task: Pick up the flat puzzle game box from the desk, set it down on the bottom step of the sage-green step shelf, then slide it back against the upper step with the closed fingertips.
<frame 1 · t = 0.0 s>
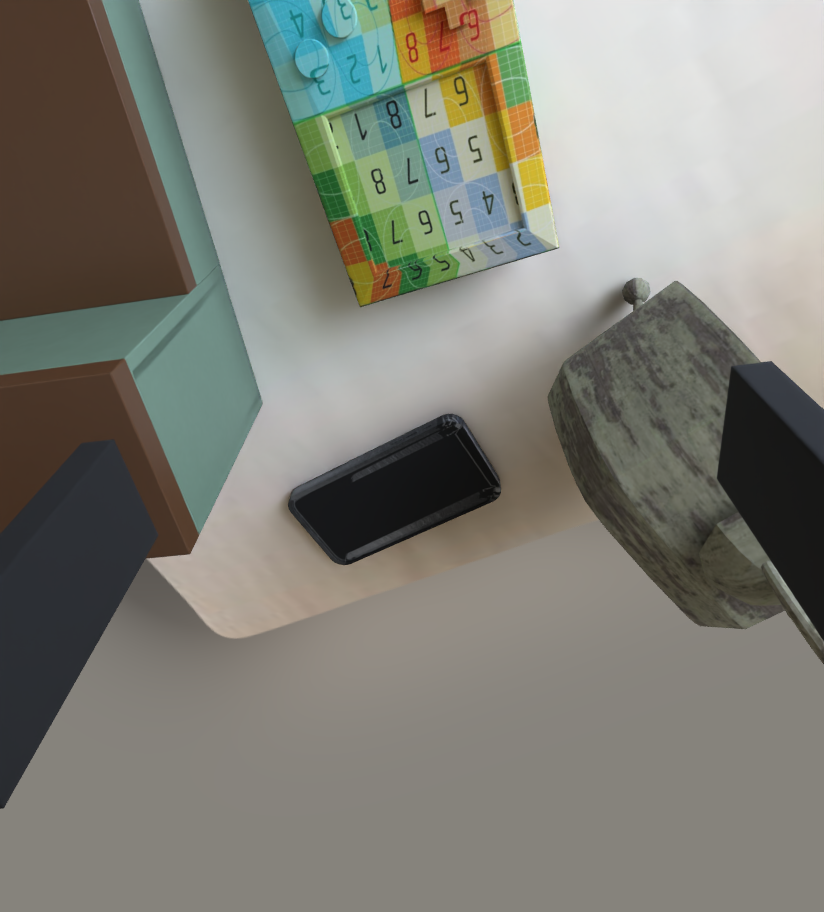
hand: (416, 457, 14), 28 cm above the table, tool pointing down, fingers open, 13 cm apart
puzzle game: (406, 81, 34), on the table
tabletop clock: (638, 370, 43), on the table
step shelf: (59, 161, 37), on the table
phone: (393, 488, 49), on the table
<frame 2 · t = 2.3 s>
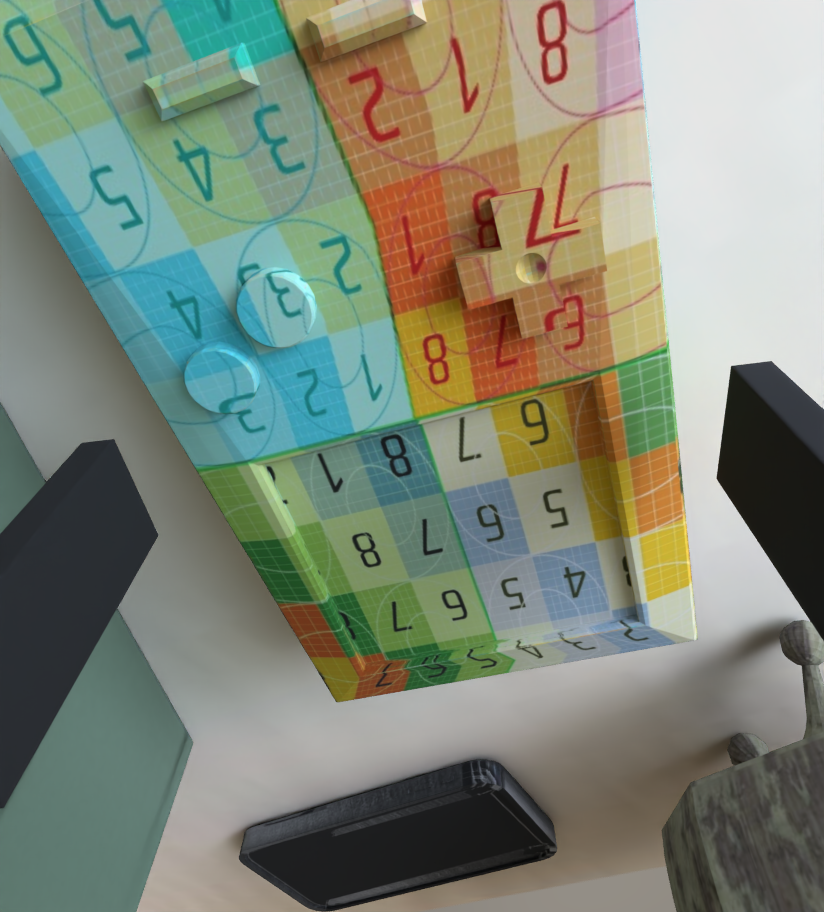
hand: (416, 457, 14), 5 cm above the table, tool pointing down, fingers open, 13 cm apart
puzzle game: (418, 342, 18), on the table
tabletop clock: (781, 714, 27), on the table
phone: (395, 827, 33), on the table
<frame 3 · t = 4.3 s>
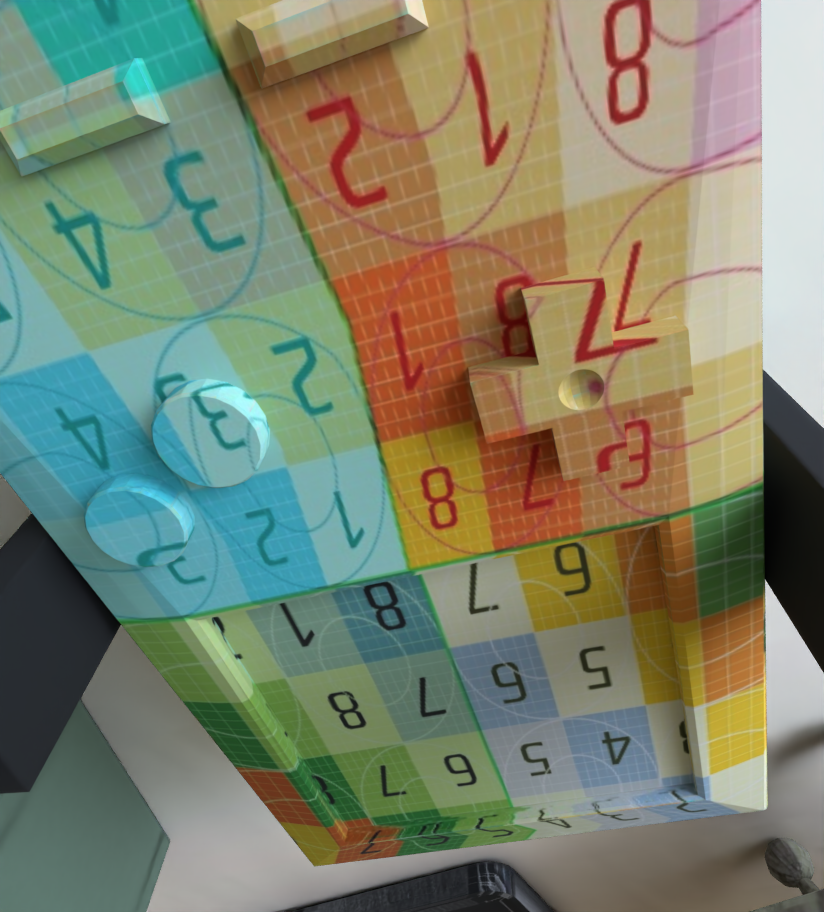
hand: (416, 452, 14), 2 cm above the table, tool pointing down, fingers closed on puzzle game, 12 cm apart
puzzle game: (415, 435, 14), point 1 cm above the table, touching gripper
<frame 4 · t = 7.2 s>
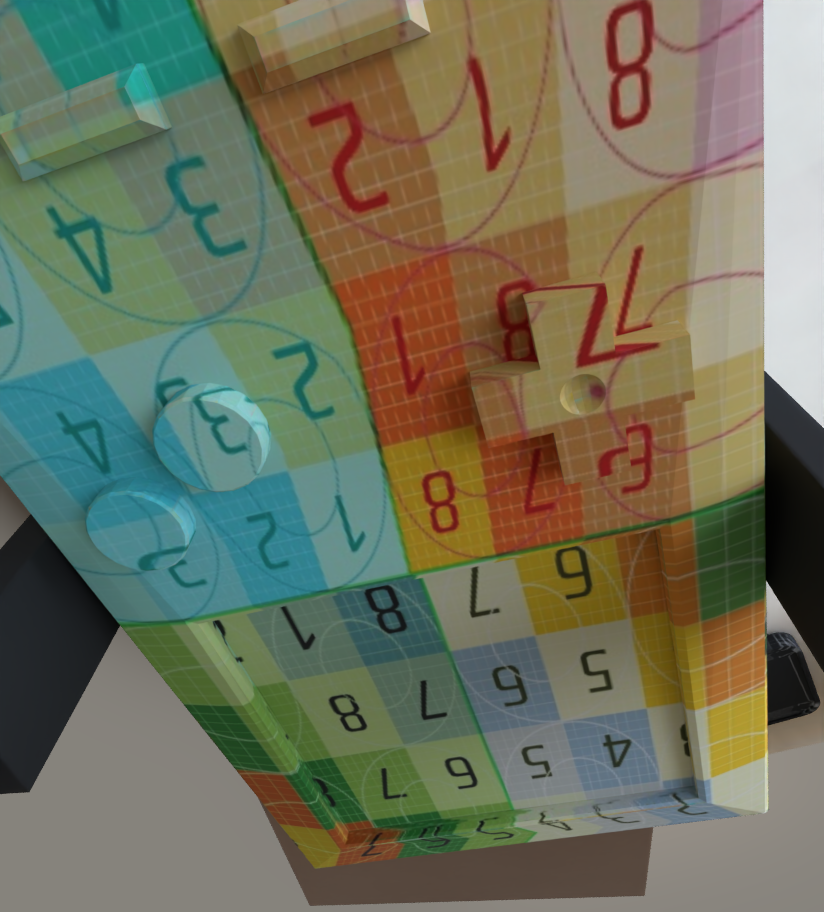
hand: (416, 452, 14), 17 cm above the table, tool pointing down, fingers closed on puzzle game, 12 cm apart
puzzle game: (416, 437, 14), point 17 cm above the table, touching gripper
step shelf: (429, 399, 33), on the table
phone: (690, 693, 45), on the table
when the fingers open (6 cm above the table, at t = 10.0 s): puzzle game stays where it is, resting on step shelf.
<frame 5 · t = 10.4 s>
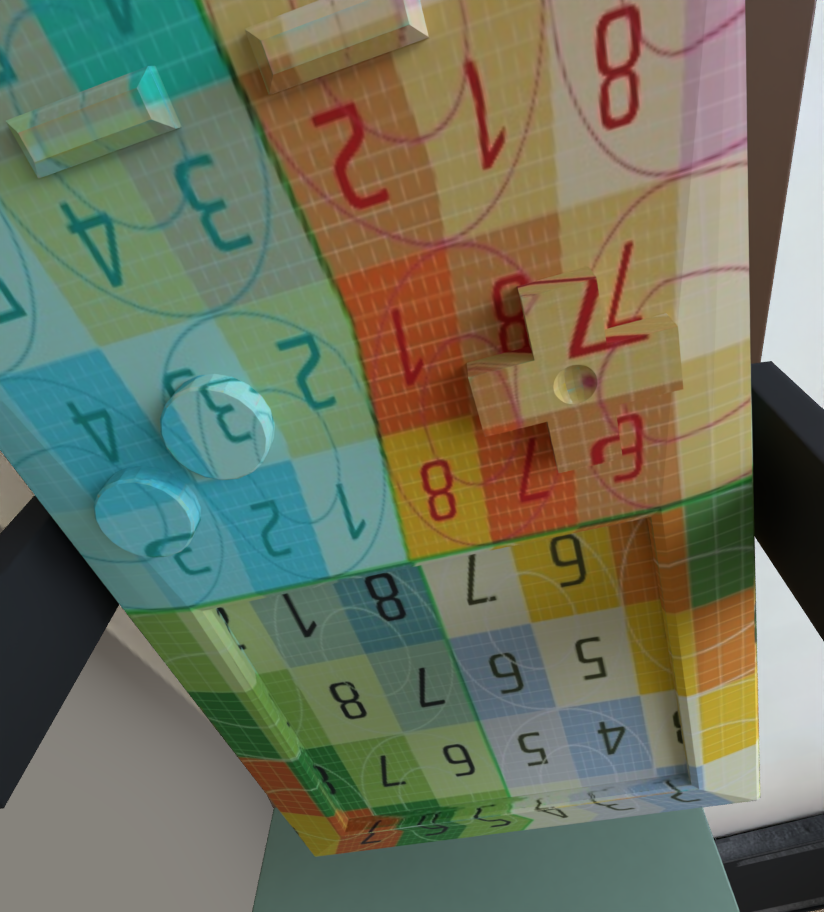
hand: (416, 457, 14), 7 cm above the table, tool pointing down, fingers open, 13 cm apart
puzzle game: (415, 431, 15), point 6 cm above the table, touching step shelf
step shelf: (450, 537, 24), on the table
phone: (775, 857, 36), on the table
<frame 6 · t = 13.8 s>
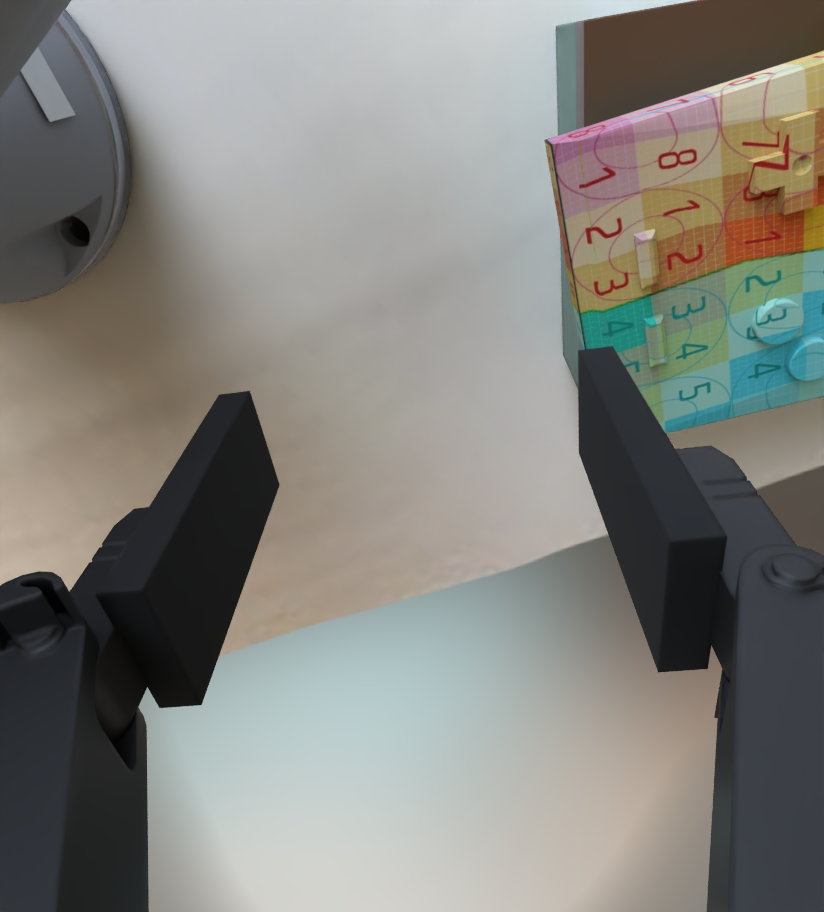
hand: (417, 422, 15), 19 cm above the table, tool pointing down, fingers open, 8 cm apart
puzzle game: (816, 210, 25), point 6 cm above the table, touching step shelf
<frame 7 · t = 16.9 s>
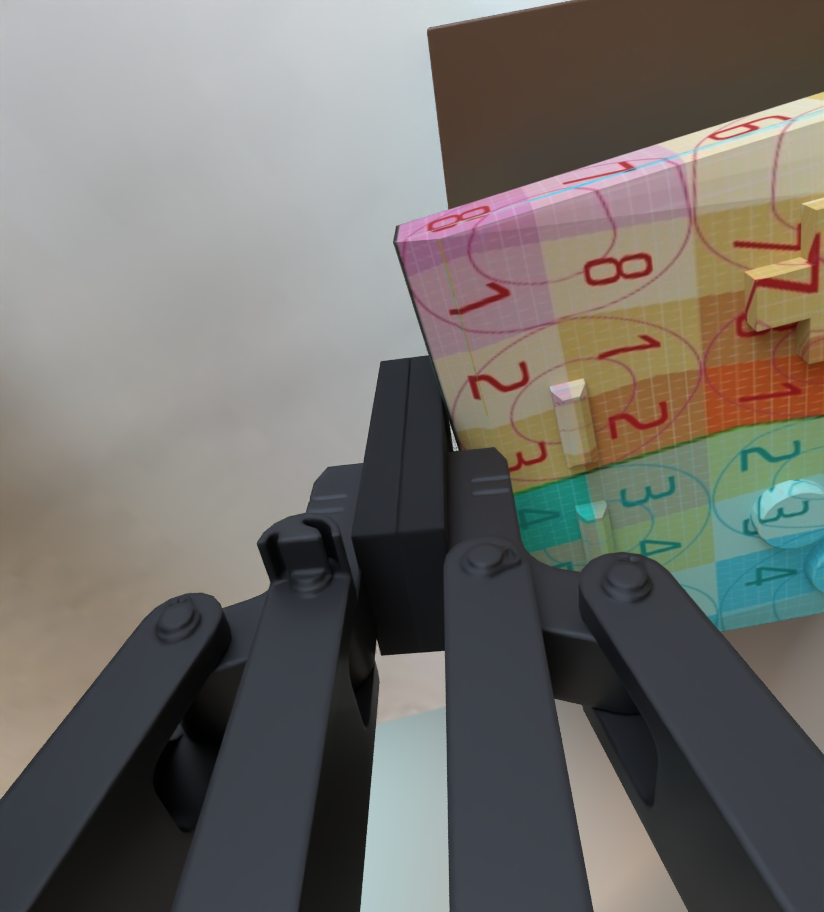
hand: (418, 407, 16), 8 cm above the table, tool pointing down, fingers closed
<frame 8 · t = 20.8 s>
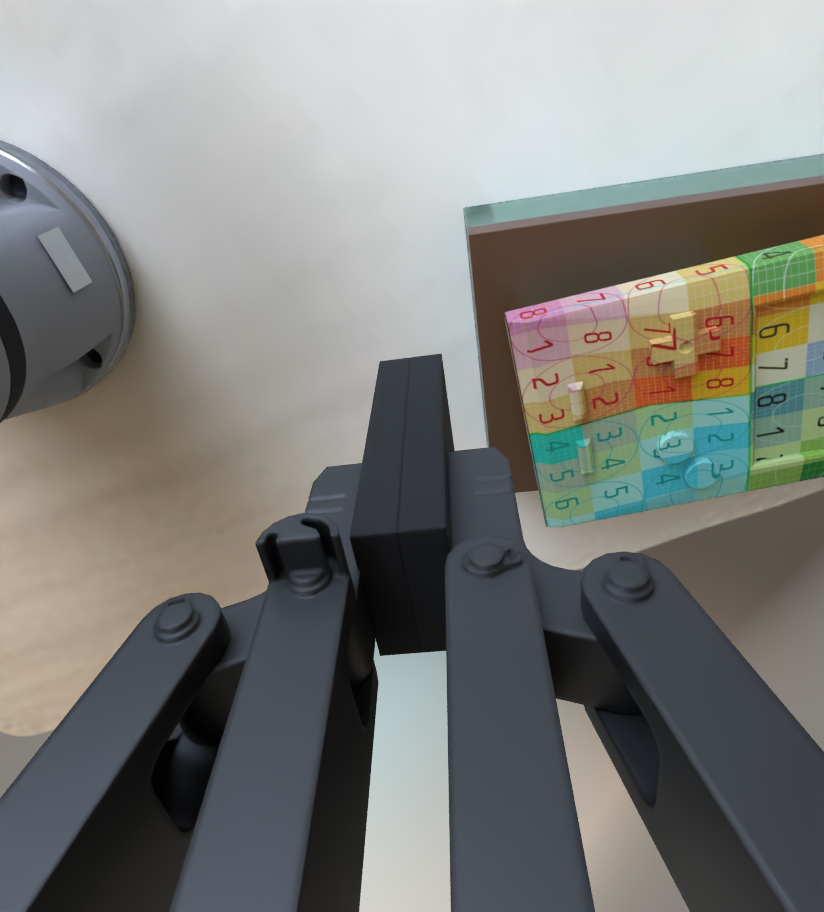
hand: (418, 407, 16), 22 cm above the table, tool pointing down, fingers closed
puzzle game: (713, 354, 32), point 6 cm above the table, touching step shelf
step shelf: (770, 299, 37), on the table
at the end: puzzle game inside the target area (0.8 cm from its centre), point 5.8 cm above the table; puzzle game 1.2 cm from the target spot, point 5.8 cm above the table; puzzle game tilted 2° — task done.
